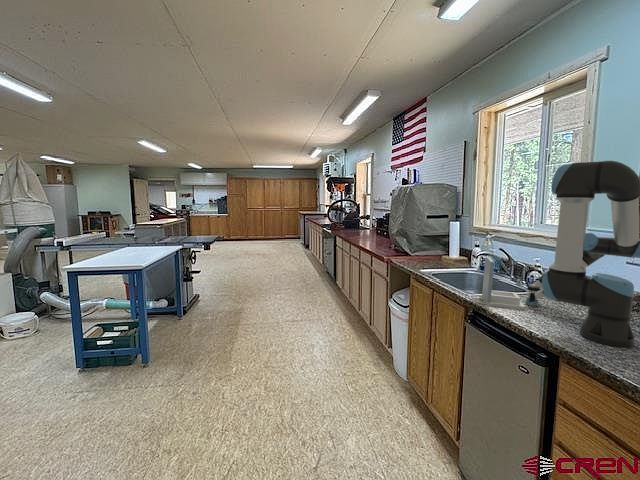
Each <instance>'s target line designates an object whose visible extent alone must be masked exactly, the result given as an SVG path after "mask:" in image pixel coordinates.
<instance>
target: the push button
mask: <svg viewBox="0 0 640 480" xmlns="http://www.w3.org/2000/svg"><path fill="white" fill-rule="evenodd" d="M526 289H527V290H528V293H527V295H528V296H527V298H526V300H525V305H529V306H535V307H538V306H540V302H539V301H538V300H539V299H538V298H537V297H536V296H535V295H534V294H536V293H537V292H539V291H540V290H541V286H540V287H538V285H535V284H533V283H529V284H528V285H527V286H526ZM530 291H531V292H530Z"/></svg>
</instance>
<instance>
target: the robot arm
mask: <svg viewBox="0 0 640 480" xmlns="http://www.w3.org/2000/svg"><path fill="white" fill-rule="evenodd" d="M551 193H552V194H554V195H556V197H555V198H556V200H557V201H558V202H559V214H558V222H557V232H556V233H557V234H556V245H555V251H554V252H555V254H554V255H555V256H554V262H553V263H552V264H551V265H549V266H548V267H549V268H548V269H546V270H544V272H543V274H542V275H541V276H540V277H538V278H537V279H538V280H536V281H534V282H533V283H532V284H535V285H538V287H540V288H541V286H542V289H539V291H537V293H536V292H535V294H534V295H535V296H536V297H537V300H541V299H542V298H543V297H546V298H547V299H549V300H551V301H552V300H553V301H557V302H562V303H567V304H571V305H577V306H582V307H587V308H588V309H587V316H586V317H585V318H584V320H583V322H582V323H581V326H580V327H579V334H580V336H582V337H583V338H585V339H587V340H590V341H592V342H595V343H598V344H603V345H607V346H612V347H618V348H619V347H620V348H632V347H633V346H635V345H634V344H635V335H634V332H633V329H632V326H631V315H632V307H633V301H634V297H635V294H634V293H635V285H634V283H633V282H632V281H630V280H628V279H626V278H623V277H620V276H616V275H611V274H607V273H599V272H593V274H592V275H587V268H588V267H589V266H590V265H592V264H594V263H595V262H597V261H598V260H599V259H601V258H603V257H604V256H616V257H623V258H624V257H625V258H629V259H631V258H636V259H640V201H639V198H640V177H639V175H638V173H636V171H635V170H633V168H631V167H630V166H629V165H626V164H624V163H622V162H620V161H615V160H603V161H599V160H598V161H582V162H580V161H579V162H571V163H563V164H561V165H559V166H558V167H557V168H556V170H555V172H554V174H553V178H552V181H551ZM597 194H598V195H600V194H605V195H606V198H608V200H610V204H611V205H610V206H611V207H610V209H611V219H612V220H611V222H612V233H613V237H609V236H608V237H606V236H597V235H596V234H594V233H593V232H586V229H587V220H588V213H589V212H588V211H589V204H590V203H591V202H593V201H594V200H595V195H597ZM530 293H531V291H530Z"/></svg>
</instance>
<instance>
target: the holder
mask: <svg viewBox="0 0 640 480" xmlns="http://www.w3.org/2000/svg"><path fill="white" fill-rule="evenodd" d="M494 269H495V261H494V260H493V259H492V258H491V257H490V256H485V258H484V271H483V280H482V281H483V282H482V291H481V293H482V295H481V297H482V298H483V300H484V303H485V305H486V306H488V307H495V306H496V307H497V308H503V307H504V308H505V309H513V310H522V311H523V310H524V311H525V310H526V305H524V304H523V303H522V301H521V298H520V296H519V295H518V294H517V293H516V292H512V291H511V292H510V291H503V290H493V279H494Z"/></svg>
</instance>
